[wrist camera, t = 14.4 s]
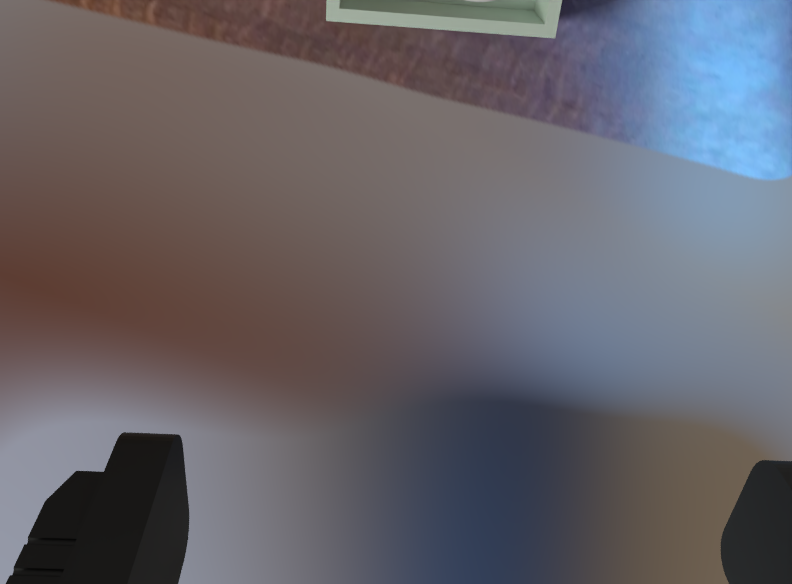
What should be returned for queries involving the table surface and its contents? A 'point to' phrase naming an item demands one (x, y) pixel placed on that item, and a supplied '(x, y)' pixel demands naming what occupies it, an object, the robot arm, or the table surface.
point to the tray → (453, 15)
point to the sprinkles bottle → (479, 0)
